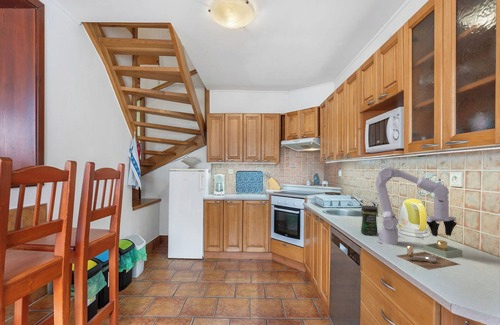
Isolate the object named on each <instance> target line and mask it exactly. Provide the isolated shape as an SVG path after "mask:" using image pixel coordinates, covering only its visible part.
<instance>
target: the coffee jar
mask: <svg viewBox="0 0 500 325" xmlns="http://www.w3.org/2000/svg"><path fill="white" fill-rule="evenodd" d="M360 212H361V216H362V218H361V219H362V220H361V230H360V233H361V234H362V235H364V236H365V235H366V236H377V235H379V230H378V224H377V222H378V221H377V217H378V216H377V215H378V207H376V205H375V206H374V205H362V206H361V210H360Z"/></svg>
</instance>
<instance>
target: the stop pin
mask: <svg viewBox="0 0 500 325" xmlns="http://www.w3.org/2000/svg"><path fill="white" fill-rule="evenodd" d="M436 243H437V248H436V249H438V250H441V251H444V252H447V246H448V241H446V240H443V239H442V240H441V239H439V240H438V239H437V241H436Z"/></svg>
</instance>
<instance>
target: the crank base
mask: <svg viewBox="0 0 500 325" xmlns="http://www.w3.org/2000/svg"><path fill="white" fill-rule="evenodd" d="M425 255H428V256H433V257H435V258H436V263H429V262H426V261H423V260H411V259H409V258H408V256H407V253H406V254H399V255H398V254H397V255H396V257H398V258H400V259H402V260H405V261H407V262H410V263H412V264H414V265H416V266H418V267H420V268H424V269H426V270H428V271H429V270H430V271H431V270H436V269H443V268H447V267H453V266H459V265H460V266H461V264H460V263H457V262H455V261H452V260H449V259H446V258H445V257H442V256H439V255H437V254H434V253H431V252H428V251H419V252H413V256H425Z"/></svg>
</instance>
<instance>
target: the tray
mask: <svg viewBox="0 0 500 325" xmlns="http://www.w3.org/2000/svg"><path fill="white" fill-rule="evenodd" d="M422 250H423V251H424V252H427V253H430V254H435V255H436V256H438V257H441V258H444V259H446V258H452V257H463V249H461V248H457V247H455V246H454V247H453V246H451V245H447V252H444V251H441V250H438V249H437V242H436V243H435V242H433V243H426V244H422Z"/></svg>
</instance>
